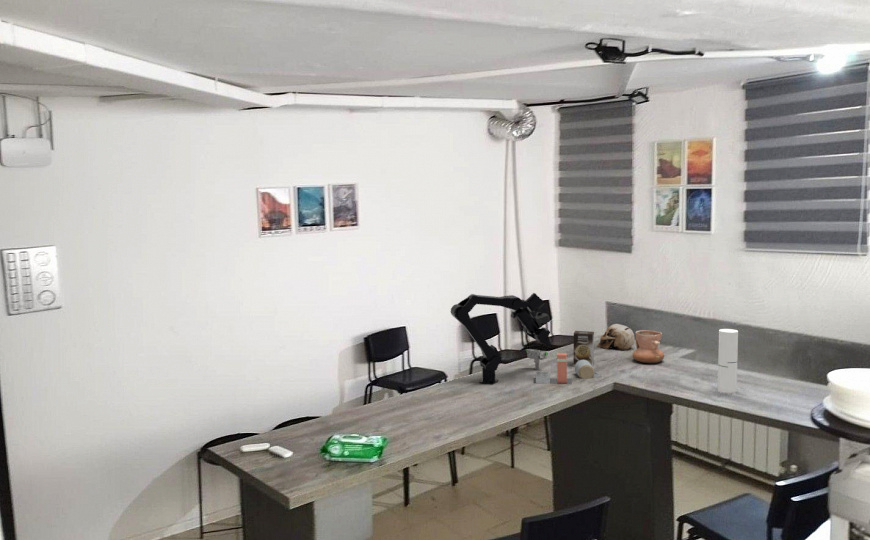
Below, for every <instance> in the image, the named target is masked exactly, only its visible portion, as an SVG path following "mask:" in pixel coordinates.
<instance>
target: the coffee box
mask: <svg viewBox="0 0 870 540" xmlns="http://www.w3.org/2000/svg"><path fill="white" fill-rule="evenodd" d="M594 345H595V331H589V330H588V331H587V330H586V331H585V330H574V332H573V363H572V364H573V365H572V367H574V368H575V364H576V363H577V362H578V361H580V360H587V361H588V362H589V363H590V364H591V365H592V367H593V368H594V366H595V363H594V361H595V360H594V359H595V355H594V354H595V346H594Z"/></svg>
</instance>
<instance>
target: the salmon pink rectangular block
mask: <svg viewBox="0 0 870 540" xmlns="http://www.w3.org/2000/svg"><path fill="white" fill-rule="evenodd" d="M567 363H568V352H557V353H556V374H557V375H556V376H557V377H556V379H557V383H567V379H568V364H567Z"/></svg>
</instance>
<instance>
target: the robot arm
mask: <svg viewBox="0 0 870 540" xmlns="http://www.w3.org/2000/svg"><path fill="white" fill-rule="evenodd" d="M477 305H483V306H486V305H487V306H496V307H502V308H503V307H504V308H507V309H508V310H511V314H510V318H513V319H516V318H517V319H518V320H519V321H520V324H521V326H523V327H522V332H523V333H524V334H525V335H527V336H528V337H530V338H532V339H534V341H537V342H539V343H541V344H543V345H545V346H546V347H547V348H550V349H551V348H552V347H553V346H552V343H551V341H550V338H549V336H550V335H551V331H550V330H549V329H548V328H546V327H543V325H544V324H546V323H550V322H551V319H550V316H549V313H544V312H542V311H541V312H540V311H538V310H539V309H540V308H541V307H543V306H544V305H545V302H544V300H543V299H542V298H541V297H540V296H538V295H537V293H535V292H533V293H532V294H531V295H530V296H529V297H528V298H526V299H525V300H524V299H523V298H522V299H521V298H520V297H519V296H516V295H512V294H511V295H509V294H508V295H504V296H492V295H482V294H474V293H471V294H470V295H468V296H467V297H466V298H464V299H463V300H461V301H460V302H459V303H457V304H454V305H452V307H451V308H450V315H451V316H452V317H453V318H454V319H456V320H457V321H458V322H459V323H460V324H461V325H462V326H463V327H464V329H465V330H466V331H467V333H468V334H469V336H471V338H472V339H473V341H474V342H475V344H477V346H478V347H479V349H480V351H481V354H482V356H483V358H482V359H481V360H480V361H479V365H480V367H482V371H481V372H482V374H481V375H482V379H481V380H479V383H480V384H486V385H494V384H495V383H498V382H499V379H496V371H497V370H498V368H499V365H500V364H501V362H502V356H501V355H502V354H501V353H500V352H499V351H498V349H497V347H496V346H495V345H493V344H490V345H489V343H488V342H487V340H486V339H485V338H484V336H483V335H482V334H481V332H480V331H479V329H478V328H477V326H475V324H474V323H473V322H472V319H471V316H470V314H469V313H470V312H471V311H472V310H473V309H474V307H475V306H477ZM512 310H513V311H512ZM533 312H534V313H535V316H534V315H532V314H531V313H533Z"/></svg>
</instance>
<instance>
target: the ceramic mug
mask: <svg viewBox="0 0 870 540" xmlns="http://www.w3.org/2000/svg"><path fill="white" fill-rule="evenodd" d="M574 372H575V374H576V375H577V376H578V378H580V379H592V378H600V377H601V374H599V372H597V371H595V369H594V366H593V367H592V365H591V364H590V363H589V362H588V361H587V360H580V361H578V362H577V363H576V364H575V367H574Z"/></svg>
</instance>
